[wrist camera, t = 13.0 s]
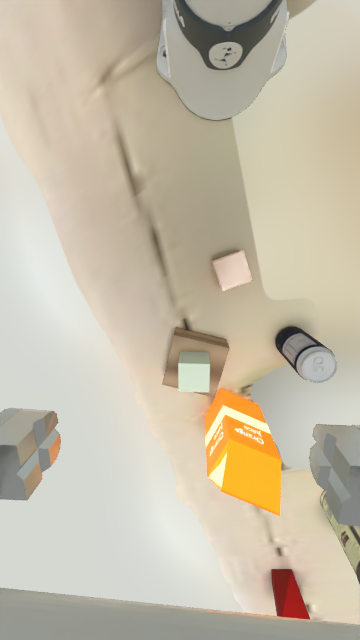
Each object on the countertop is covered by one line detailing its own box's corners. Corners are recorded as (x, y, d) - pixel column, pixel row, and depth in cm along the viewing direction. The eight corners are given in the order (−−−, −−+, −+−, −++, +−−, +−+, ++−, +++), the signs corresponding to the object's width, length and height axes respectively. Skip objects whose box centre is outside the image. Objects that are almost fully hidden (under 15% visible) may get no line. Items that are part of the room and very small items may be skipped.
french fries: (268, 585, 64) (288, 682, 49) (267, 562, 62) (288, 656, 47) (303, 585, 63) (335, 685, 48) (304, 562, 61) (337, 658, 46)
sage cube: (180, 351, 44) (178, 363, 39) (208, 352, 44) (209, 364, 39) (180, 377, 45) (178, 391, 40) (208, 377, 45) (209, 392, 40)
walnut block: (176, 326, 48) (173, 334, 43) (226, 339, 48) (229, 348, 43) (165, 372, 51) (162, 384, 46) (212, 383, 51) (214, 397, 46)
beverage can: (274, 355, 48) (299, 387, 36) (273, 327, 46) (298, 351, 35) (305, 352, 47) (339, 383, 36) (305, 323, 46) (341, 347, 34)
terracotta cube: (211, 261, 44) (213, 261, 40) (238, 250, 44) (243, 250, 39) (220, 287, 45) (222, 291, 41) (246, 277, 45) (252, 280, 40)
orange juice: (220, 387, 50) (234, 469, 31) (259, 404, 51) (297, 496, 31) (204, 417, 52) (207, 511, 33) (241, 433, 53) (266, 536, 33)
